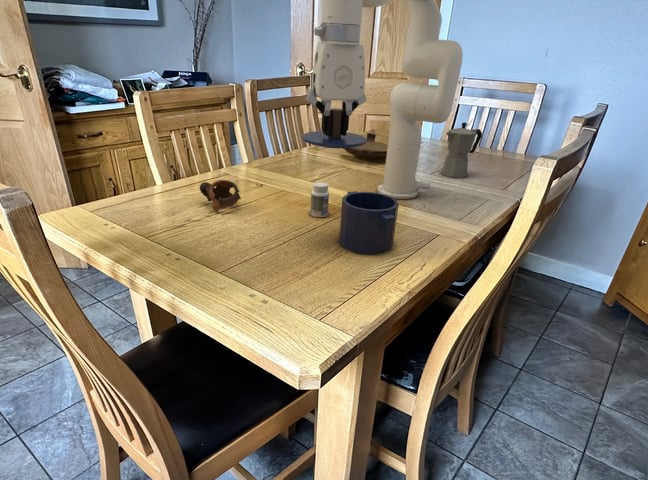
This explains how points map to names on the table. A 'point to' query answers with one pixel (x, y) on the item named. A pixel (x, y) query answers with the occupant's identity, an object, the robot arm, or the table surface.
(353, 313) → the table surface
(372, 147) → the brown shallow dish
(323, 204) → the pill bottle
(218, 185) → the pottery mug
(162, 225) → the table surface
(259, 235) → the table surface
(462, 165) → the coffeepot
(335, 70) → the robot arm
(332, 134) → the lid
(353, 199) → the pot
